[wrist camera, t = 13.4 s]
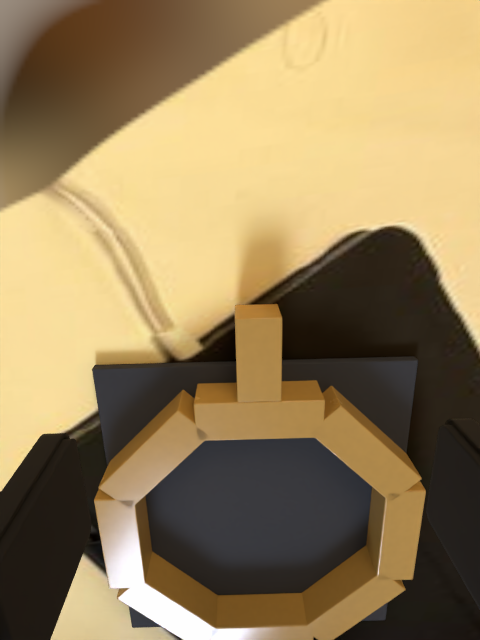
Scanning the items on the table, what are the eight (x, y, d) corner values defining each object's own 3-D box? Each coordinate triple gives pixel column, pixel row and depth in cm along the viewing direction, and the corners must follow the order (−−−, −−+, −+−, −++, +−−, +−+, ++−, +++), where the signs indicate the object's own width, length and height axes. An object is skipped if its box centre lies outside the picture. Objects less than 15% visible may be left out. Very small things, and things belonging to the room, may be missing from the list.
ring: (79, 309, 19) (62, 323, 17) (432, 299, 19) (453, 312, 17) (128, 620, 26) (120, 655, 24) (390, 612, 26) (403, 646, 24)
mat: (94, 364, 21) (91, 368, 20) (414, 355, 21) (418, 360, 20) (133, 620, 27) (132, 628, 26) (382, 612, 27) (385, 620, 26)
